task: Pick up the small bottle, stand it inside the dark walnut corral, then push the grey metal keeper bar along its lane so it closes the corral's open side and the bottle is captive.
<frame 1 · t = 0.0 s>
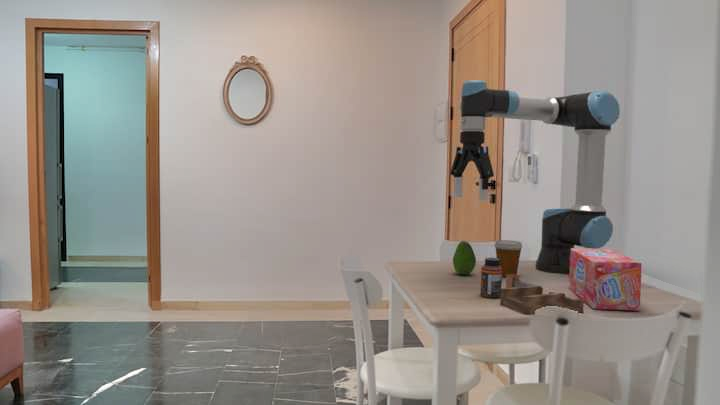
hand: (470, 198, 173), 28 cm above the table, fingers open, 13 cm apart
keeper bar: (524, 285, 165), point 3 cm above the table, slide at 0.0 cm
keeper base: (533, 307, 151), on the table
supplement bottle: (490, 296, 162), on the table
box: (601, 300, 162), on the table
avocado: (463, 275, 193), on the table
disposable coffee cup: (507, 276, 193), on the table
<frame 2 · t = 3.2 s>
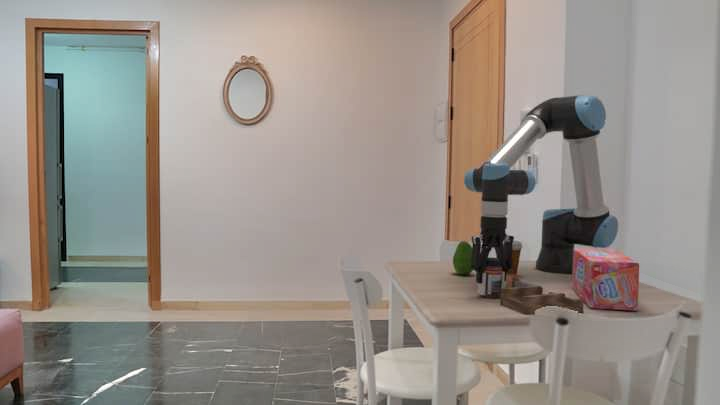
hand: (490, 293, 162), 1 cm above the table, fingers closed on supplement bottle, 6 cm apart
supplement bottle: (490, 296, 162), on the table, touching gripper
when the fingers open (2 cm above the table, at t = 8.0 s): supplement bottle drops 1 cm, resting in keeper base.
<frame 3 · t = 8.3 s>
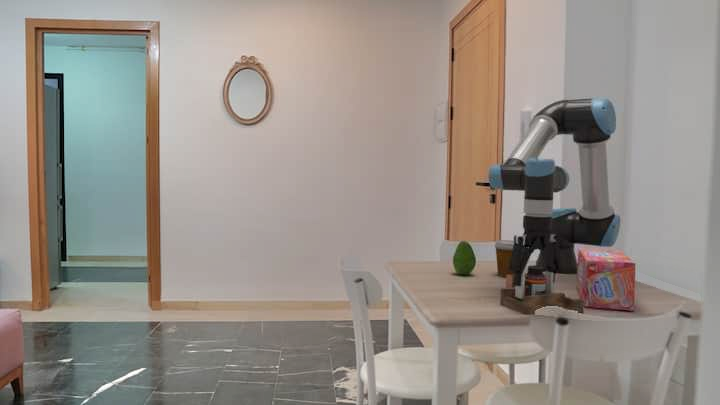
hand: (533, 296, 151), 3 cm above the table, fingers open, 9 cm apart
supplement bottle: (533, 307, 151), resting in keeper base
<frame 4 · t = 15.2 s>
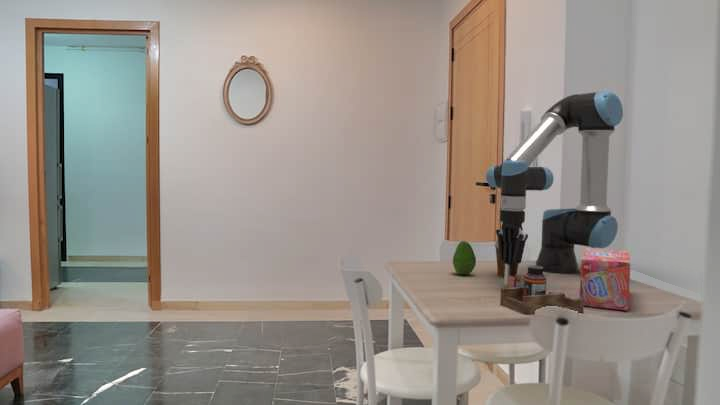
hand: (509, 284, 172), 2 cm above the table, fingers closed
keeper bar: (526, 286, 165), point 3 cm above the table, slide at 0.8 cm, touching gripper
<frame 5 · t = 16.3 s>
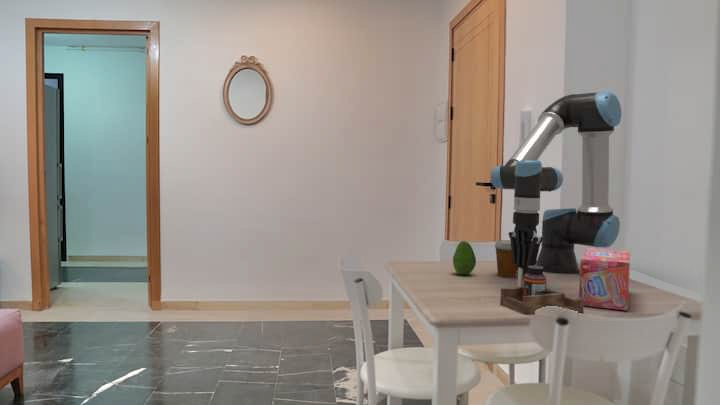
hand: (522, 288, 166), 2 cm above the table, fingers closed
keeper bar: (540, 291, 159), point 3 cm above the table, slide at 7.2 cm, touching gripper
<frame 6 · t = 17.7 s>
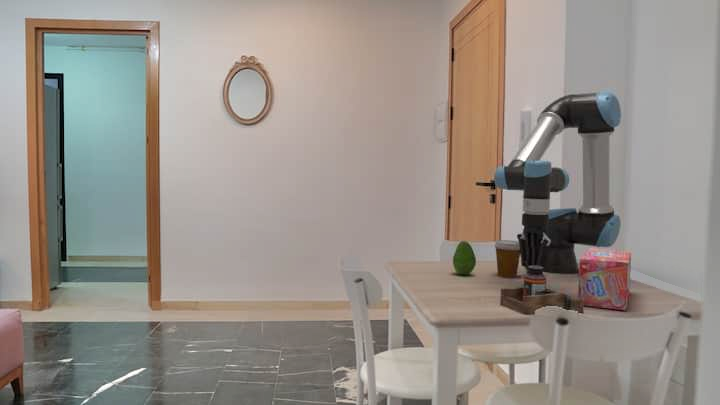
hand: (531, 292, 162), 1 cm above the table, fingers closed
keeper bar: (550, 294, 155), point 3 cm above the table, slide at 11.2 cm, touching gripper
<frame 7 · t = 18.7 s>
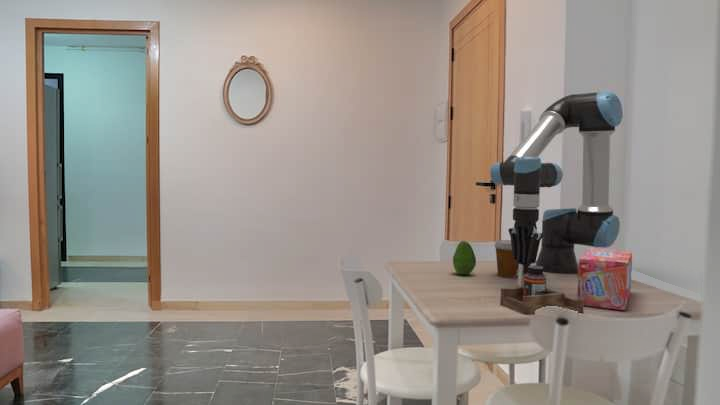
hand: (523, 284, 167), 3 cm above the table, fingers closed
keeper bar: (541, 291, 158), point 3 cm above the table, slide at 7.7 cm
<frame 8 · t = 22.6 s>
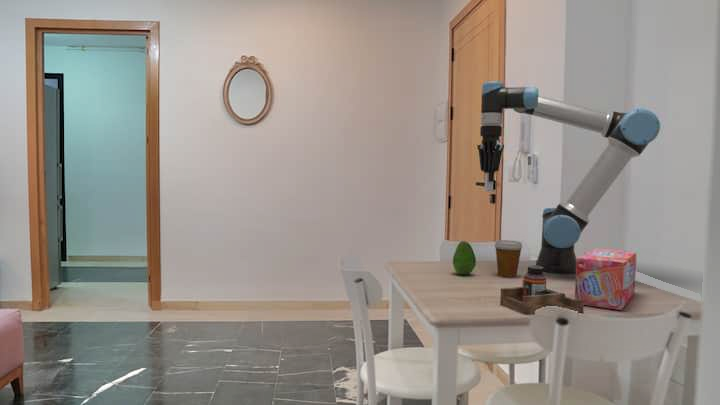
hand: (488, 190, 199), 29 cm above the table, fingers closed
at the end: supplement bottle inside the target area (0.4 cm from its centre), resting in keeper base; supplement bottle tilted 0°; keeper bar slide at 7.7 cm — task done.
